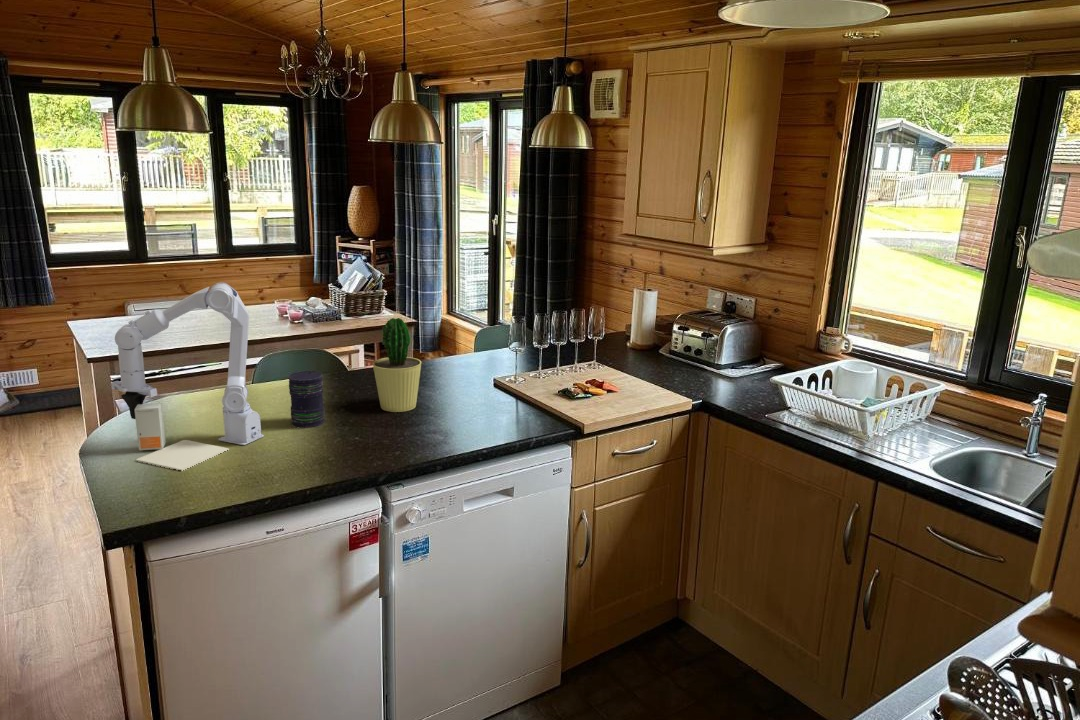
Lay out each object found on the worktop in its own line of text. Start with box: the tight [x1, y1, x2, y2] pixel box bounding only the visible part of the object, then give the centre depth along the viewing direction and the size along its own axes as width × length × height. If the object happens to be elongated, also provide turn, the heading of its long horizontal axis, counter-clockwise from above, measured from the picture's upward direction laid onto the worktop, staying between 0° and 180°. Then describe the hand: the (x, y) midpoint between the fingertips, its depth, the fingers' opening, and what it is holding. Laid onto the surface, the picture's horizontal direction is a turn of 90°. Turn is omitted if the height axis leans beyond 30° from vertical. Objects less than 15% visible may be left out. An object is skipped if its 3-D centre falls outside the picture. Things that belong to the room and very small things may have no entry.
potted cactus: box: [372, 317, 422, 413], centre depth 240 cm, size 15×15×30 cm
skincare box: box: [134, 402, 167, 451], centre depth 202 cm, size 6×4×12 cm
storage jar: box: [288, 370, 326, 429], centre depth 225 cm, size 10×10×15 cm
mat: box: [135, 439, 230, 472], centre depth 200 cm, size 16×16×1 cm
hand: (136, 417), depth 203 cm, fingers closed
